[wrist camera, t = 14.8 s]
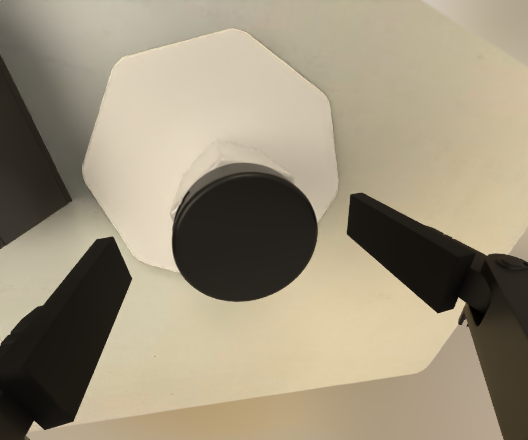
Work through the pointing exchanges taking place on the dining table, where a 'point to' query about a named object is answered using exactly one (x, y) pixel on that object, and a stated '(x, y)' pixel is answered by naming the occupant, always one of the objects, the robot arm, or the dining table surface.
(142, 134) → the plate
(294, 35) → the dining table surface
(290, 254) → the jar
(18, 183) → the dark grey box
